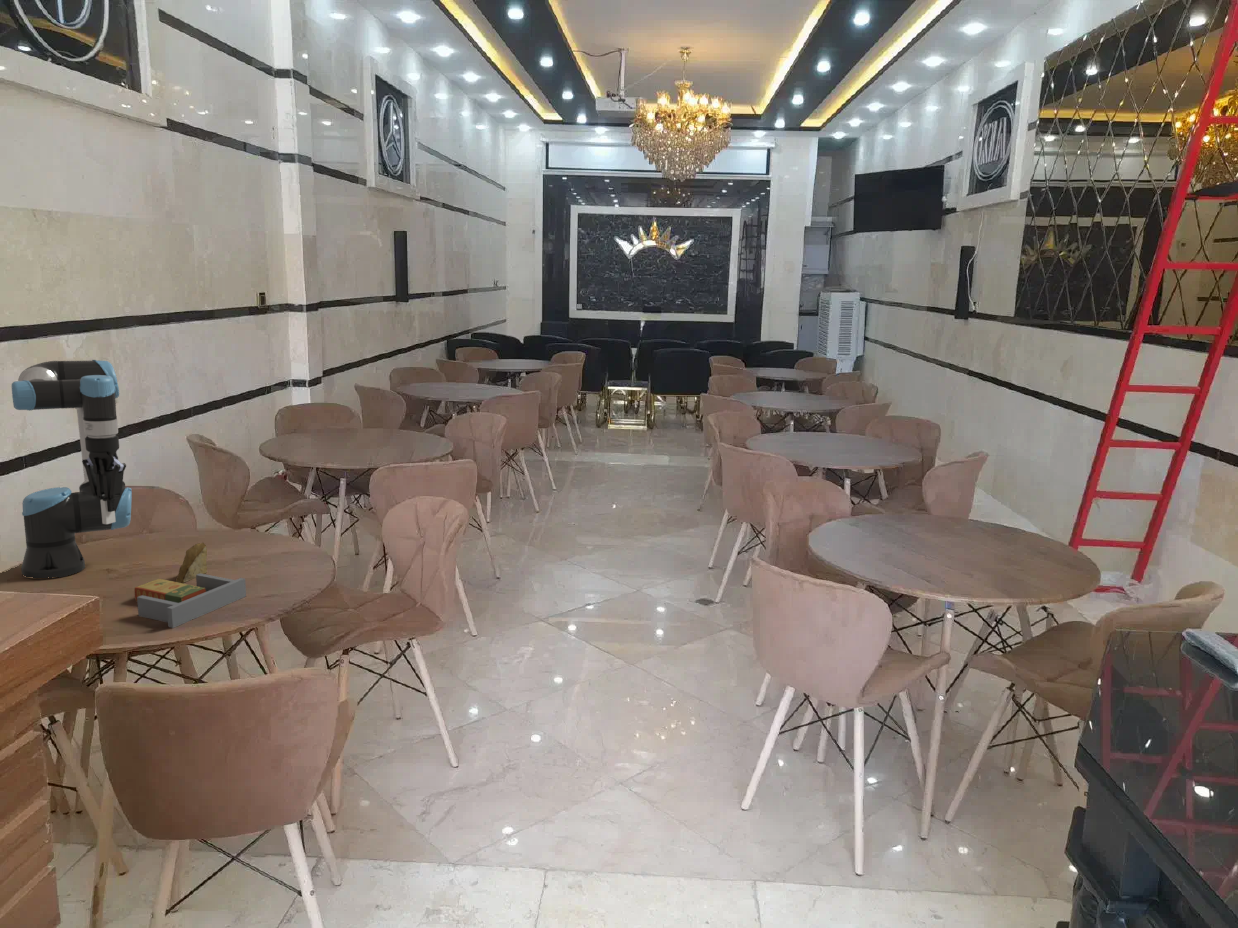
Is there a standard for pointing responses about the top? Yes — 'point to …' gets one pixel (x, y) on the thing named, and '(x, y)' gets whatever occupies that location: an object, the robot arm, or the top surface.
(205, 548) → the rock
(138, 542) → the top surface
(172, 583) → the carton
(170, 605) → the u stop
